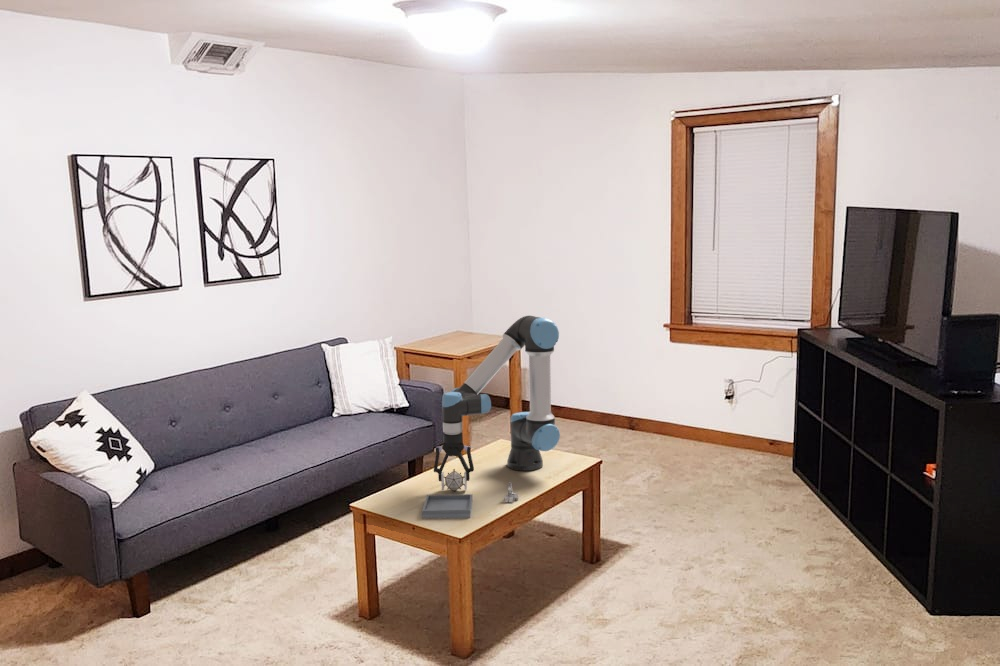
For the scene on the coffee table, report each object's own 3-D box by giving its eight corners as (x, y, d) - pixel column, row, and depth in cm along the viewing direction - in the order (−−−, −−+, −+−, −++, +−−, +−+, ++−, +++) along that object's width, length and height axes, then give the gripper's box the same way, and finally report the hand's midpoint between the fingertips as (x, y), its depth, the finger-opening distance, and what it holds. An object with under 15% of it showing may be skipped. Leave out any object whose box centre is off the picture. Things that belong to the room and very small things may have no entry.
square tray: (472, 501, 313) (472, 494, 313) (470, 518, 296) (470, 510, 296) (427, 502, 314) (427, 495, 313) (422, 518, 296) (421, 510, 296)
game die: (462, 488, 329) (462, 464, 328) (468, 495, 321) (468, 470, 320) (440, 491, 326) (440, 466, 325) (446, 498, 318) (445, 473, 317)
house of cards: (525, 507, 307) (525, 487, 306) (502, 506, 309) (502, 486, 308) (528, 499, 316) (528, 479, 315) (505, 498, 318) (505, 479, 317)
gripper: (480, 429, 324) (481, 485, 327) (426, 430, 324) (428, 486, 327) (479, 434, 316) (480, 491, 319) (424, 435, 317) (426, 492, 320)
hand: (454, 488), depth 323 cm, fingers closed on game die, 8 cm apart
